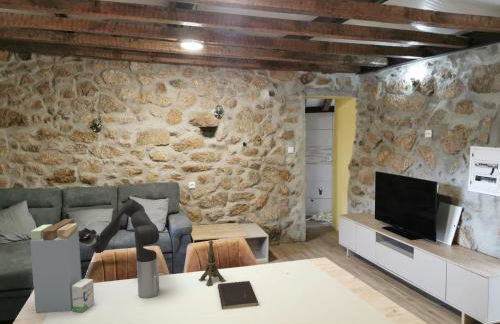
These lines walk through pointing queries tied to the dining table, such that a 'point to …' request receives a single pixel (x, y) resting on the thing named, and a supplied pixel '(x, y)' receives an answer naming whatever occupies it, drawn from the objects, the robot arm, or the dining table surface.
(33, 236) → the sage bar
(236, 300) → the hardcover book
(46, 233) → the walnut bar
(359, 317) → the dining table surface
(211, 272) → the eiffel tower
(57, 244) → the stand
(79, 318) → the dining table surface
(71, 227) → the maple bar
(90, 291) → the ink box
